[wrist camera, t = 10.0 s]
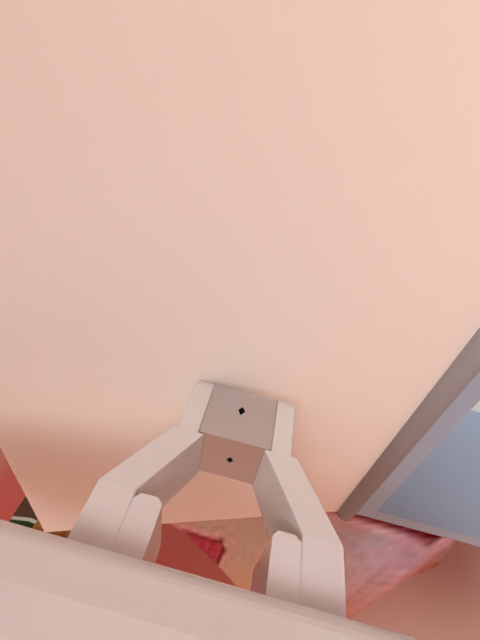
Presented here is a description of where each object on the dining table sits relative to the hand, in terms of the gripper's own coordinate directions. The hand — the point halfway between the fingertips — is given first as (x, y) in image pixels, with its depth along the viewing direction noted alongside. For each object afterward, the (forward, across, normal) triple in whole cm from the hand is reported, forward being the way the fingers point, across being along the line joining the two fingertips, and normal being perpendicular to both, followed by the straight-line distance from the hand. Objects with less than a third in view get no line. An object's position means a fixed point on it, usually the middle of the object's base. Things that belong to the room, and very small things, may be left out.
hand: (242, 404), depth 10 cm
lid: (0, 0, 0) cm, 0 cm away
